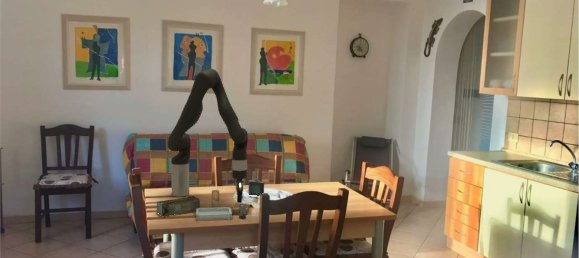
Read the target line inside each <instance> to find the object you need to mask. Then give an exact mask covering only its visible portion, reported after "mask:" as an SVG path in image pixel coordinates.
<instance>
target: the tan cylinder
mask: <svg viewBox="0 0 579 258" xmlns="http://www.w3.org/2000/svg"><path fill="white" fill-rule="evenodd" d="M219 207H220V190H218V189H212V190H211V208H219Z"/></svg>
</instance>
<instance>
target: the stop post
mask: <svg viewBox="0 0 579 258" xmlns="http://www.w3.org/2000/svg"><path fill="white" fill-rule="evenodd" d="M245 204H246V203H243V204H240V205H239V215H238V218H239V219H241V220H243V219H246V218H247V215H246V205H245Z"/></svg>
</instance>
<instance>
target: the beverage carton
mask: <svg viewBox="0 0 579 258" xmlns="http://www.w3.org/2000/svg"><path fill="white" fill-rule="evenodd" d="M200 202H201V201H200V198H198V197H195V196H194V195H191V196H190V195H188V196H183V197H179V198H178V197H177V198H172V199H166V200H158V201H156V214H157V213H159V214H160V215H161V216H167V217H169V216H168V215H174V214H179V215H182V214H181V213H185V214H189V213H188V212H190V213H196V208H201V205H200V204H201V203H200ZM159 214H158V215H159ZM160 215H159V216H160ZM161 216H160V217H161ZM174 216H175V215H174Z"/></svg>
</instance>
